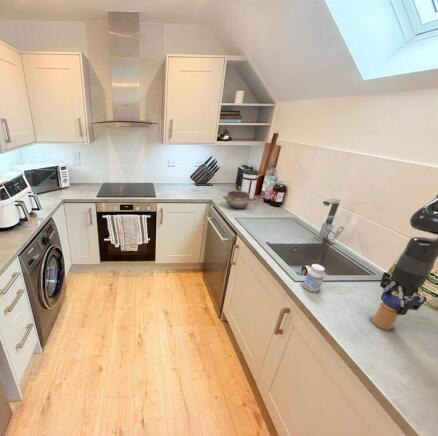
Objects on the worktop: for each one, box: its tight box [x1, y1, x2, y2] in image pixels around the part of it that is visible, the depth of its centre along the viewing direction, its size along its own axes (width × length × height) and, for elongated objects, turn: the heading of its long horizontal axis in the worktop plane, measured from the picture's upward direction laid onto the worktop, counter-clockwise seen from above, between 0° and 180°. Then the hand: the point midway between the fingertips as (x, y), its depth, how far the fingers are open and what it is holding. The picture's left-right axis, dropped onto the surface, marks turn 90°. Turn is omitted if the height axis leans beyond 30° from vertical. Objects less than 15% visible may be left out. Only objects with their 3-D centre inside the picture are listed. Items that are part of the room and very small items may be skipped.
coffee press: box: [235, 166, 260, 201], centre depth 213 cm, size 17×16×30 cm
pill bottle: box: [302, 263, 326, 293], centre depth 103 cm, size 6×6×11 cm
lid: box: [382, 293, 407, 309], centre depth 83 cm, size 6×6×2 cm
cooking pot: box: [222, 189, 255, 210], centre depth 196 cm, size 25×19×12 cm
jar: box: [372, 301, 400, 331], centre depth 85 cm, size 5×5×9 cm
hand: (391, 307), depth 84 cm, fingers closed on lid, 6 cm apart
